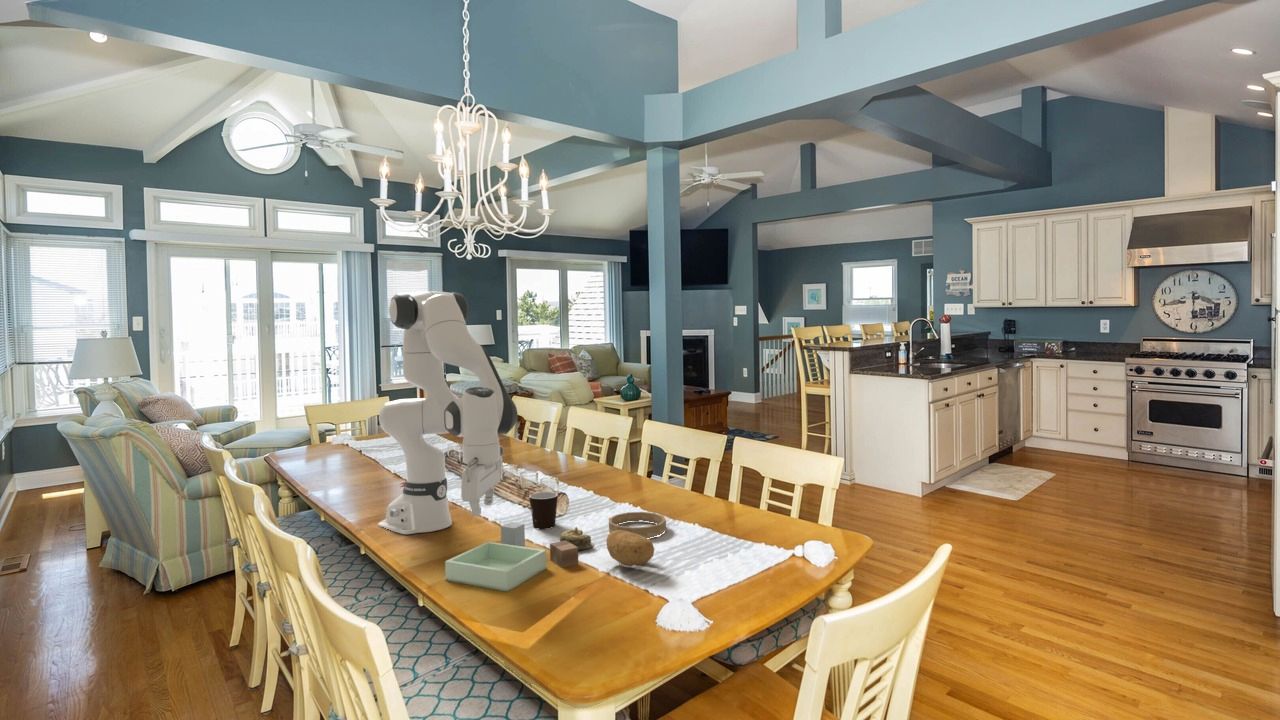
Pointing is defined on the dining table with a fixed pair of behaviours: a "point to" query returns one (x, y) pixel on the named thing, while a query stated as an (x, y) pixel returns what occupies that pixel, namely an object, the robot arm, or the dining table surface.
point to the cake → (577, 538)
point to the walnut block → (564, 554)
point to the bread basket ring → (637, 516)
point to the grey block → (513, 534)
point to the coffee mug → (543, 509)
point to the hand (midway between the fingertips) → (482, 509)
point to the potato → (629, 548)
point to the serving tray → (496, 566)
